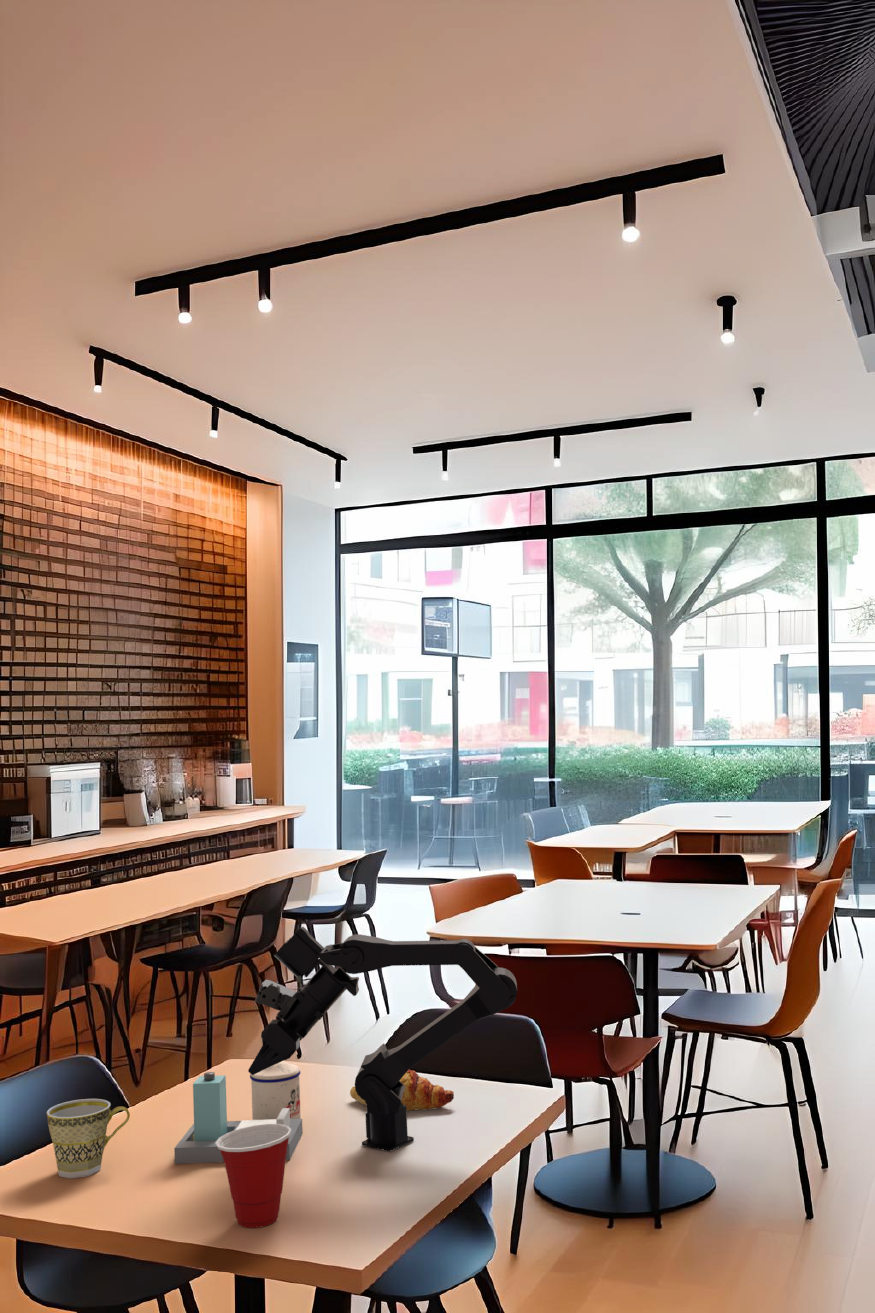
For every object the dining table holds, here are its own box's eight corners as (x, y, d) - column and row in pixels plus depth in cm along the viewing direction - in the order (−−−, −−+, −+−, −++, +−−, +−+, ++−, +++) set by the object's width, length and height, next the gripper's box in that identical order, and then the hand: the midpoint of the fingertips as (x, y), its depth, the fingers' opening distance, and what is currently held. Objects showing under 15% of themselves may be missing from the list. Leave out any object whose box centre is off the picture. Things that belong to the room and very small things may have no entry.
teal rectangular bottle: (227, 1144, 195) (225, 1069, 196) (221, 1153, 190) (219, 1076, 191) (198, 1145, 195) (196, 1070, 196) (191, 1154, 190) (189, 1077, 191)
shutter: (290, 1123, 196) (290, 1106, 196) (283, 1138, 189) (282, 1120, 189) (242, 1125, 196) (241, 1108, 197) (232, 1140, 189) (231, 1122, 189)
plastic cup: (236, 1203, 168) (233, 1119, 169) (305, 1206, 166) (302, 1122, 167) (204, 1234, 158) (202, 1144, 159) (277, 1238, 155) (274, 1147, 156)
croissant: (345, 1125, 213) (334, 1092, 210) (363, 1085, 222) (353, 1053, 219) (450, 1131, 206) (440, 1097, 203) (465, 1090, 214) (456, 1056, 211)
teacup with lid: (297, 1130, 201) (294, 1062, 202) (246, 1131, 201) (244, 1063, 202) (308, 1108, 213) (306, 1044, 214) (260, 1110, 213) (258, 1046, 214)
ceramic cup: (45, 1186, 179) (44, 1121, 180) (49, 1165, 188) (48, 1103, 189) (130, 1174, 182) (129, 1110, 183) (130, 1154, 192) (129, 1093, 193)
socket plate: (302, 1133, 198) (302, 1118, 199) (289, 1160, 185) (289, 1144, 186) (194, 1137, 199) (194, 1122, 199) (174, 1163, 186) (174, 1148, 186)
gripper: (292, 954, 204) (234, 1020, 203) (272, 974, 185) (207, 1046, 185) (338, 997, 203) (279, 1063, 202) (322, 1021, 184) (257, 1094, 184)
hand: (255, 1065), depth 193 cm, fingers open, 9 cm apart
